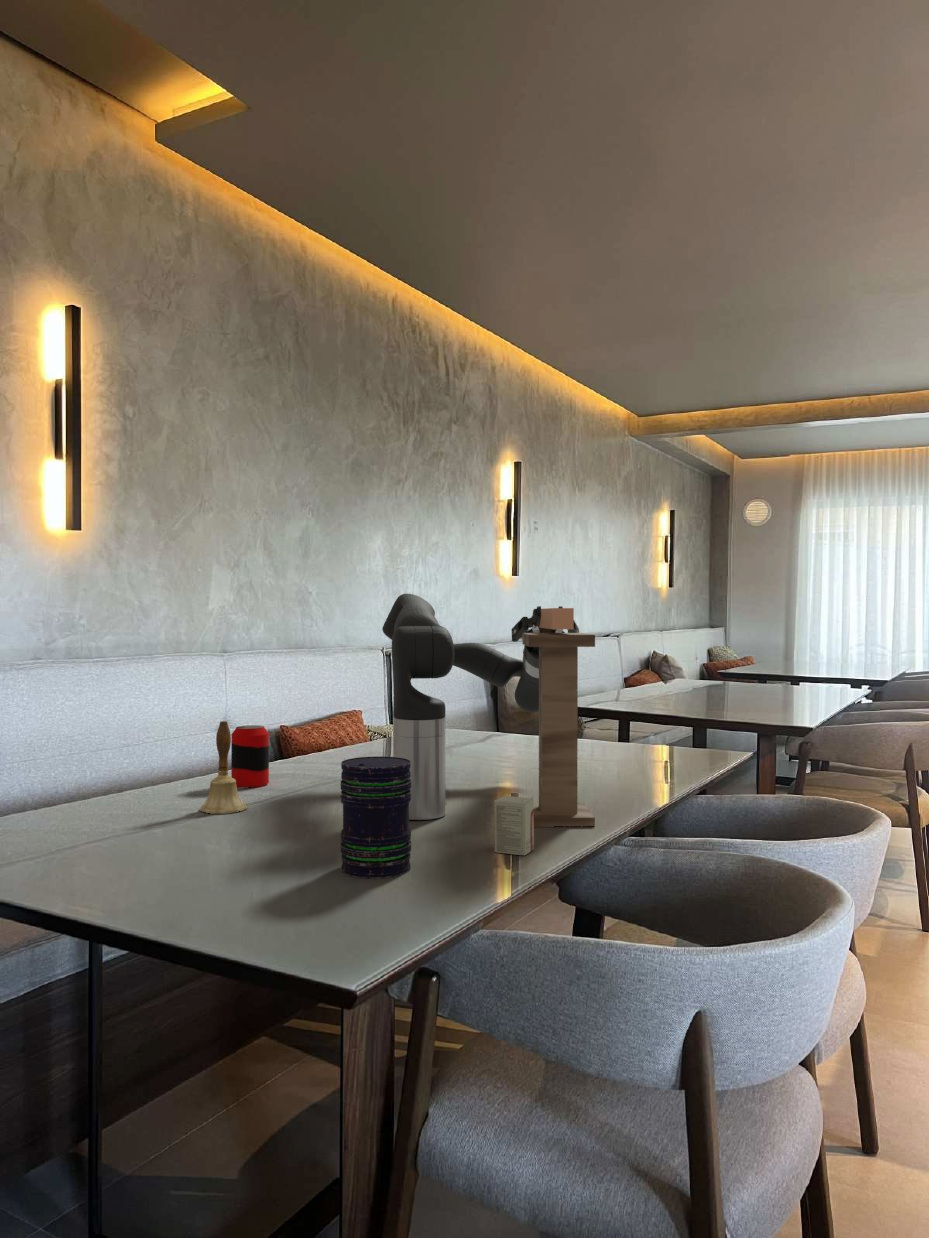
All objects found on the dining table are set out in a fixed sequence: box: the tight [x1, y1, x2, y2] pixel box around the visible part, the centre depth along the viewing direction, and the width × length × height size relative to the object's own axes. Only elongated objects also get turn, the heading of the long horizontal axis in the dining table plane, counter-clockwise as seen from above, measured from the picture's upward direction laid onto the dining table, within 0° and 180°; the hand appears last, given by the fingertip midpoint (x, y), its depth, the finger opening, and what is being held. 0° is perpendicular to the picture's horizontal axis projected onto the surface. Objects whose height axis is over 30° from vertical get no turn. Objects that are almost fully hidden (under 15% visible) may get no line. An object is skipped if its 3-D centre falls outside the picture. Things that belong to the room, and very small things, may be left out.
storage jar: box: [340, 756, 412, 880], centre depth 131 cm, size 10×10×15 cm
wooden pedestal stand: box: [521, 632, 596, 828], centre depth 163 cm, size 14×11×32 cm
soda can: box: [230, 724, 270, 788], centre depth 194 cm, size 8×8×12 cm
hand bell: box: [199, 720, 248, 815], centre depth 170 cm, size 8×8×16 cm
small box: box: [493, 795, 535, 856], centre depth 140 cm, size 5×4×8 cm
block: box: [539, 607, 575, 630], centre depth 167 cm, size 24×4×4 cm, turn 1°
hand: (550, 610), depth 175 cm, fingers closed on block, 3 cm apart
